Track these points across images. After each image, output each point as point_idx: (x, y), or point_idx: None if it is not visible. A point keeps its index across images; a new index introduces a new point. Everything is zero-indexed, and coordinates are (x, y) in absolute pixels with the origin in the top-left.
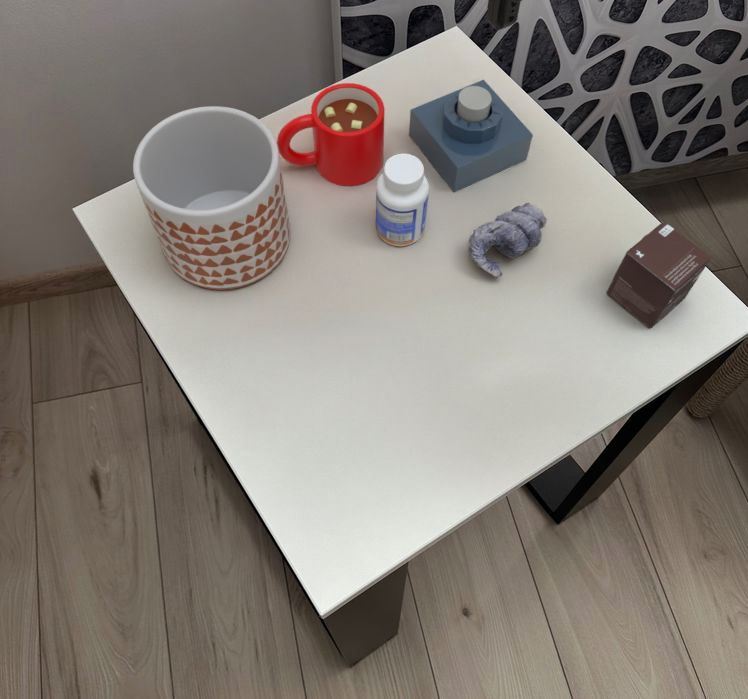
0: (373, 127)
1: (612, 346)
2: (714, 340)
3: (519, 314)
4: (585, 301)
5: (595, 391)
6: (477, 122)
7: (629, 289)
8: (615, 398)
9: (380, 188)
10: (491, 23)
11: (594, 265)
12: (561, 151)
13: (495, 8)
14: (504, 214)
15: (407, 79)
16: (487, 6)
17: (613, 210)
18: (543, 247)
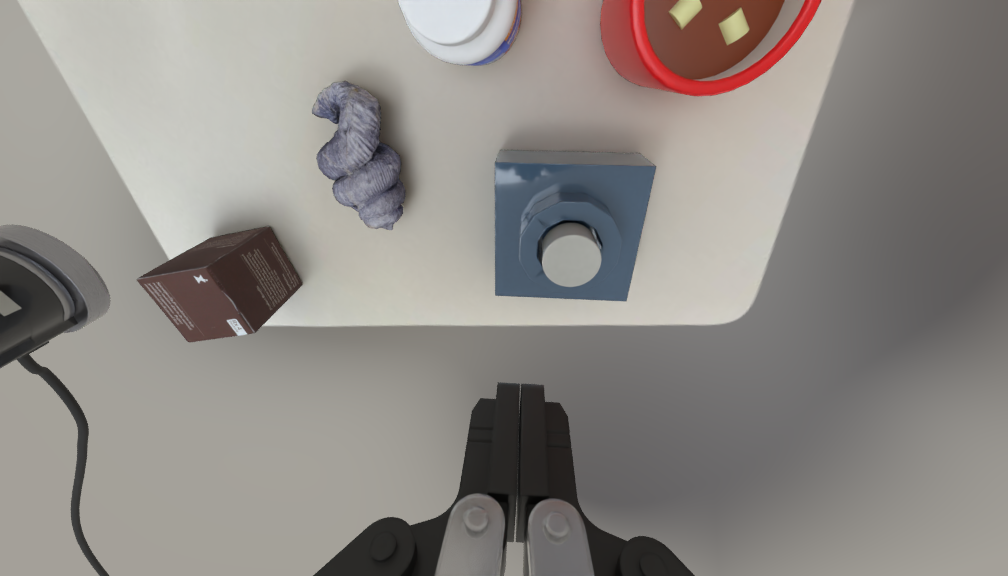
0: (632, 20)
1: (194, 185)
2: None
3: (261, 103)
4: (265, 198)
5: (126, 122)
6: (543, 240)
7: (221, 244)
8: (116, 139)
9: None
10: (518, 387)
11: (315, 240)
12: (489, 311)
13: (508, 436)
14: (379, 173)
15: (734, 218)
16: (567, 417)
17: (384, 305)
18: None
